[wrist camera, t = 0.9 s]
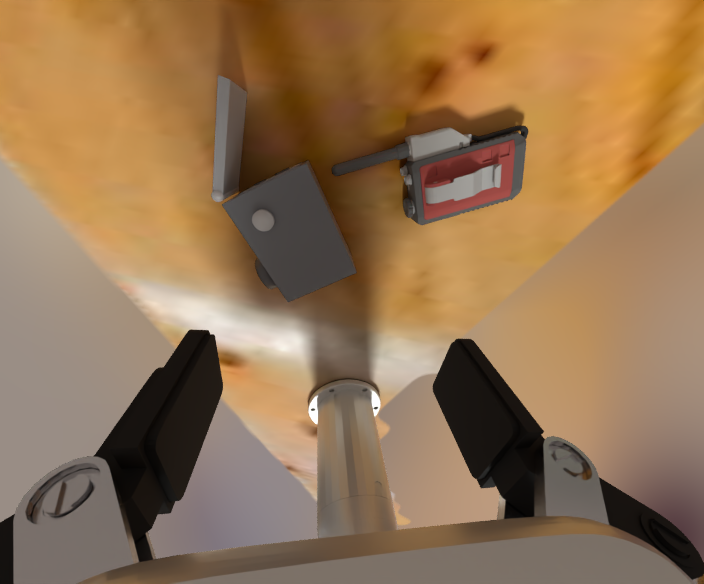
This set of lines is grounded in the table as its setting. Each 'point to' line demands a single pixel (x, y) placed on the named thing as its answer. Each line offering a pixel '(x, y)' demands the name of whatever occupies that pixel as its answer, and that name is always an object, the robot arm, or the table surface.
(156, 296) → the table surface
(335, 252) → the camera body
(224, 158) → the side door
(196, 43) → the table surface
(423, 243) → the table surface
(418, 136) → the walkie-talkie
